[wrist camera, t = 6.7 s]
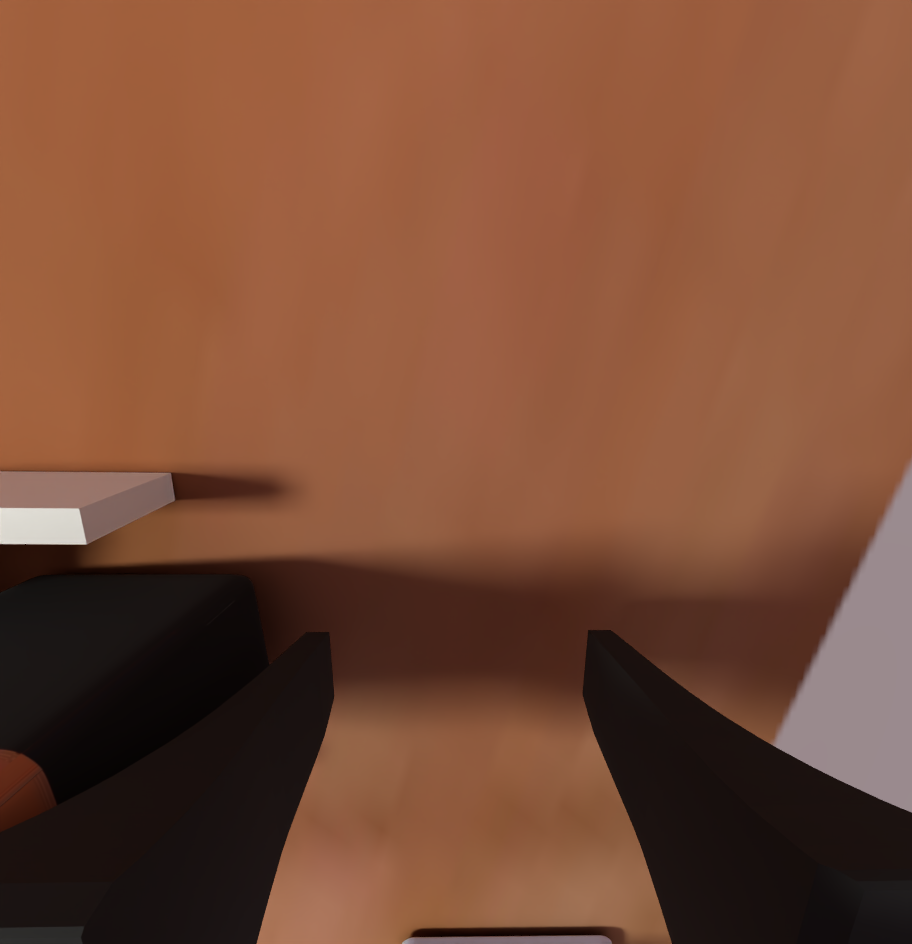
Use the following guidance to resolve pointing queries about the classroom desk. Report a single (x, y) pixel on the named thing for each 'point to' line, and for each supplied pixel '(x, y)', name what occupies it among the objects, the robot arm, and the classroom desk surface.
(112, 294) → the classroom desk surface
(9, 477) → the charging bay
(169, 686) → the battery
